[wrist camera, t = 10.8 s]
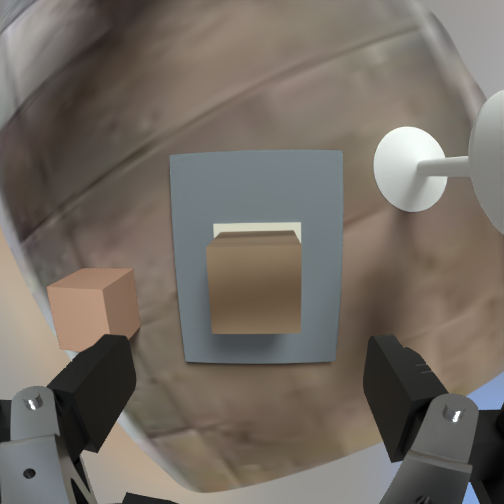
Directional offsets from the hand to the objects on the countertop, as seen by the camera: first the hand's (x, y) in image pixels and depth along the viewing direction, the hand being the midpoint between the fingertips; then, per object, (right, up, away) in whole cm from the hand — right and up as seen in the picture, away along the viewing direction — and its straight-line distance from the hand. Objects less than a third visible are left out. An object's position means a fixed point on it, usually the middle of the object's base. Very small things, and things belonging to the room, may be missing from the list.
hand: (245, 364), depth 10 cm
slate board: (+1, +3, +14) cm, 15 cm away
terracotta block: (-12, 0, +16) cm, 20 cm away
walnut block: (+1, +3, +13) cm, 13 cm away
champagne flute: (+13, +10, +12) cm, 20 cm away
